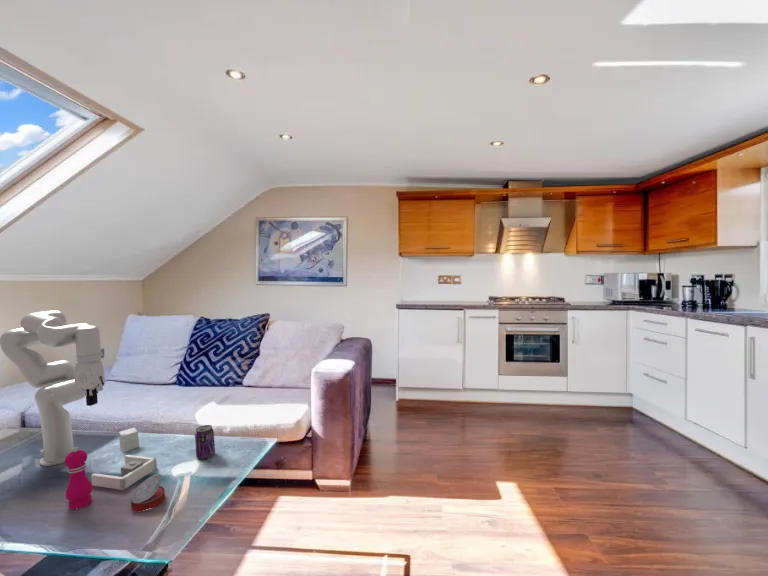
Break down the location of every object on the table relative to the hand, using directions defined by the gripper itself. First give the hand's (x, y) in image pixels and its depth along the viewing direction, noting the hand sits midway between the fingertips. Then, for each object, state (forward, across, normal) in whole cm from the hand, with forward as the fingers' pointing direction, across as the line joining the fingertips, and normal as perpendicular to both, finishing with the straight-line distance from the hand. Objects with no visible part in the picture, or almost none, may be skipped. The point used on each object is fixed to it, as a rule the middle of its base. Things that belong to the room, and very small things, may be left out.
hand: (92, 404), depth 154 cm
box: (+26, +17, -2) cm, 31 cm away
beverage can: (+25, +36, +18) cm, 48 cm away
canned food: (+25, +39, -13) cm, 48 cm away
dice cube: (+26, +20, -2) cm, 33 cm away
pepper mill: (+26, +17, -19) cm, 36 cm away
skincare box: (+27, -3, +17) cm, 32 cm away
